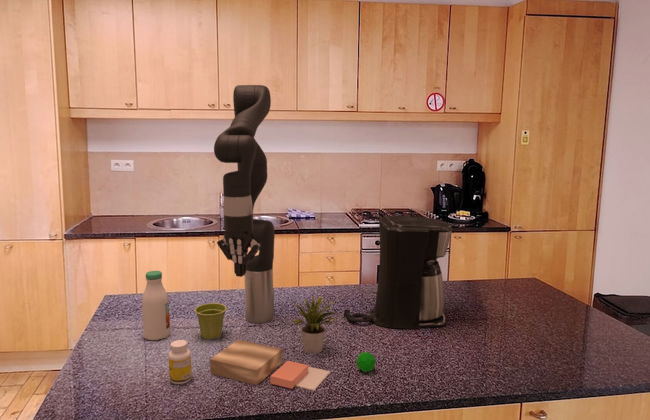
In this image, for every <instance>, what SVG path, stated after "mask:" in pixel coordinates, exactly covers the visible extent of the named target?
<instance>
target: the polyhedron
mask: <svg viewBox="0 0 650 420" xmlns="http://www.w3.org/2000/svg"><path fill="white" fill-rule="evenodd" d="M376 362H377V361H376V358H375V356H374V355H372V353H370V352H367V351H366V352H364V351H363V352H361V353H360V354H358V356H357V360H356V363H355V364H356V366H357V368H358V369H360V370H361V371H362V372H364V373H367V372H368V373H369V372H371V371H372V370H373V369H375V366H376Z"/></svg>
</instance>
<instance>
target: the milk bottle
mask: <svg viewBox="0 0 650 420" xmlns="http://www.w3.org/2000/svg"><path fill="white" fill-rule="evenodd" d="M162 280H163V273H162V271H161V270H151V271H147V272H146V273H145V281H146V284H145V289H144V292H143V293H142V297H141V315H142V316H141V317H142V330H143V331H142V333H143V337H144V339H145V340H147V339H148V340H147V341H160V340H159V339H161V340H163V338H164V339H167V338H168V337H169V336H170V334H171V322H170V321H171V320H170V319H171V318H170V303H169V295H168V293H167V290H166V289H165V287H164V284H163V282H162Z"/></svg>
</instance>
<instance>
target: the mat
mask: <svg viewBox="0 0 650 420" xmlns="http://www.w3.org/2000/svg"><path fill="white" fill-rule="evenodd" d="M330 374H331V371H329V370H326V369H321V368H316V367H311V366H308V373H307V374H306V375H305V376H304V377H303V378H302V379H301V380H300V381H299V382H298V383H297V384H296V385H295V386H294V387H297V388H301V389H305V390H309V391H315V390H316V389H318V387H319V386H320V385H321V384H322V383H323V382H324V380H325V379H326V378H327V377H328V376H329V375H330Z"/></svg>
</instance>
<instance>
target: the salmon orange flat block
mask: <svg viewBox="0 0 650 420" xmlns="http://www.w3.org/2000/svg"><path fill="white" fill-rule="evenodd" d="M308 367H309V365H308V364H304V363H299V362H295V361H291V360H287V361H286V362H284V363H282V364H281V365H280V367H279V368H278V369H276V371H273V372H272V374H271V375H270V379H269V380H270V384H272V385H275V386H279V387H283V388H287V389H291V390H293V388H294V387H296V386H295V385H296V384H297V383H298V382H299V381H300V380H301V379H302V378H303V377H304V376H305V375H306V374H307V373H308Z"/></svg>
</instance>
